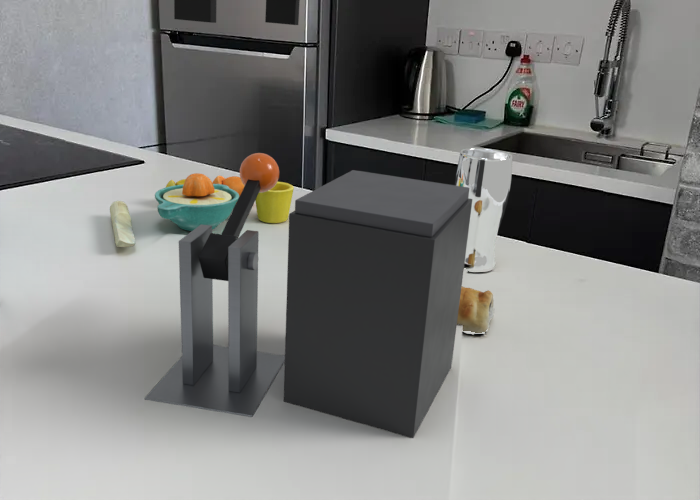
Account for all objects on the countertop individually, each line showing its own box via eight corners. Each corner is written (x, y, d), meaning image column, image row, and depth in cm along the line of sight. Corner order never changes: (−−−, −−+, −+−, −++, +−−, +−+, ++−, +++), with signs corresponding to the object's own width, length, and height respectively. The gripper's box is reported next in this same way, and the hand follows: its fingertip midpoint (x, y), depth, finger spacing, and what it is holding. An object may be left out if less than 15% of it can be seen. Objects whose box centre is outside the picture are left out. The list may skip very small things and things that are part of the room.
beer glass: (482, 254, 94) (496, 147, 89) (508, 273, 88) (525, 159, 83) (436, 257, 92) (449, 147, 87) (460, 276, 86) (475, 160, 81)
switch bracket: (194, 352, 64) (191, 212, 59) (287, 366, 62) (291, 223, 58) (144, 410, 55) (136, 249, 50) (252, 429, 53) (254, 264, 48)
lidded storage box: (271, 409, 56) (277, 198, 50) (330, 347, 66) (340, 167, 60) (411, 450, 52) (436, 225, 46) (450, 377, 62) (474, 187, 56)
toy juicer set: (235, 193, 116) (235, 148, 113) (300, 221, 104) (302, 171, 101) (64, 219, 98) (60, 166, 95) (119, 257, 85) (115, 197, 83)
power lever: (249, 174, 65) (243, 143, 62) (285, 178, 64) (281, 146, 62) (196, 282, 55) (187, 250, 52) (239, 287, 54) (232, 256, 52)
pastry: (399, 323, 72) (402, 290, 71) (412, 300, 78) (415, 269, 77) (488, 340, 70) (493, 306, 69) (494, 314, 76) (498, 282, 75)
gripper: (202, -452, 32) (199, 24, 39) (366, -251, 54) (346, 28, 61) (70, -434, 34) (90, 14, 41) (280, -248, 57) (270, 21, 63)
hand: (243, 23), depth 51 cm, fingers open, 13 cm apart
